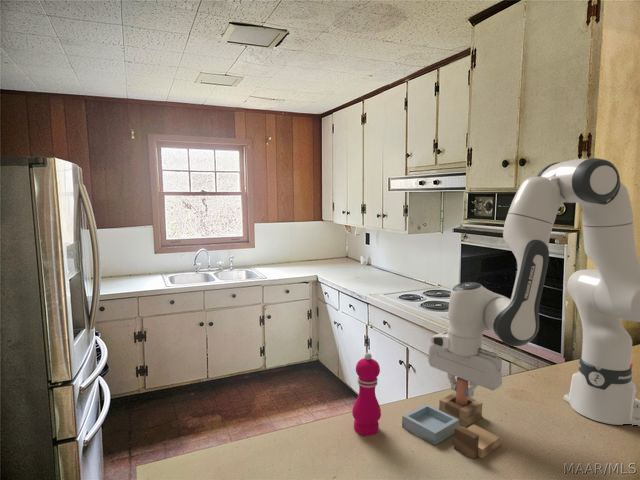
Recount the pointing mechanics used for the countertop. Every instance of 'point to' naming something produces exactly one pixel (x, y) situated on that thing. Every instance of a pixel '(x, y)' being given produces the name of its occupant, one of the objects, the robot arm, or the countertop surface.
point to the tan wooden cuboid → (485, 440)
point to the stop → (466, 442)
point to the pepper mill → (367, 397)
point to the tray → (430, 423)
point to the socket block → (461, 409)
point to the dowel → (461, 392)
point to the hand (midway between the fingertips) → (461, 392)
